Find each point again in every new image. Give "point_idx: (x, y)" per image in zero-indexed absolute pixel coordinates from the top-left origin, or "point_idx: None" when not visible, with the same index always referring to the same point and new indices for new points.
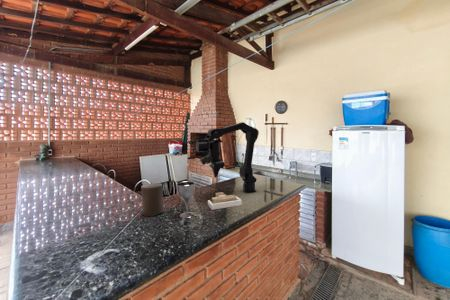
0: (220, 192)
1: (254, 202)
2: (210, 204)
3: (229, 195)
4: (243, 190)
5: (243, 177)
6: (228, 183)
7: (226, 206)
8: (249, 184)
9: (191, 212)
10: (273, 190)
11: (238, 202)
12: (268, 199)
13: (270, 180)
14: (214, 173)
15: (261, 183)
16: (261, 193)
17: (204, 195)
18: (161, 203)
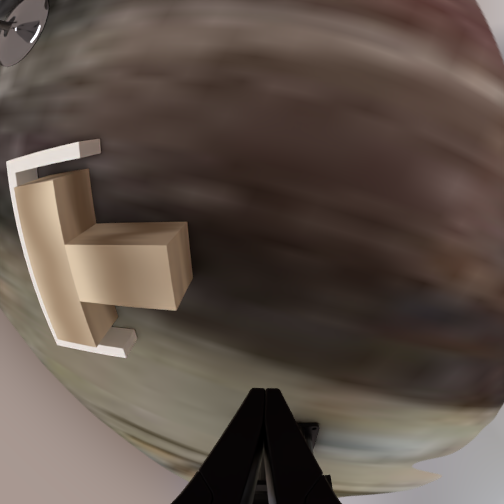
0: (170, 292)
1: (100, 384)
2: (26, 155)
3: (83, 320)
4: (306, 425)
5: (266, 501)
6: (488, 381)
7: None
8: (259, 471)
9: (24, 42)
10: None
11: None
12: (132, 431)
13: (375, 492)
14: (212, 452)
15: (366, 477)
16: None
17: (370, 160)
18: None
